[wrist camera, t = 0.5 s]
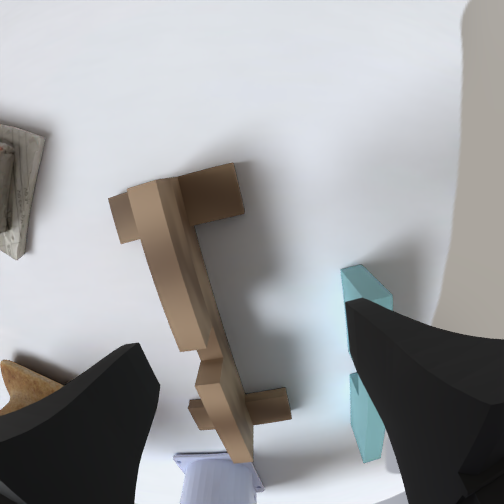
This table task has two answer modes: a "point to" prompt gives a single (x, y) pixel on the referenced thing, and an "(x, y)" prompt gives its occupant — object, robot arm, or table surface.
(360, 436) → the slotted panel
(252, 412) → the notched board
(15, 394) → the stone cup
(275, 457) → the table surface
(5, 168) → the packaged product
